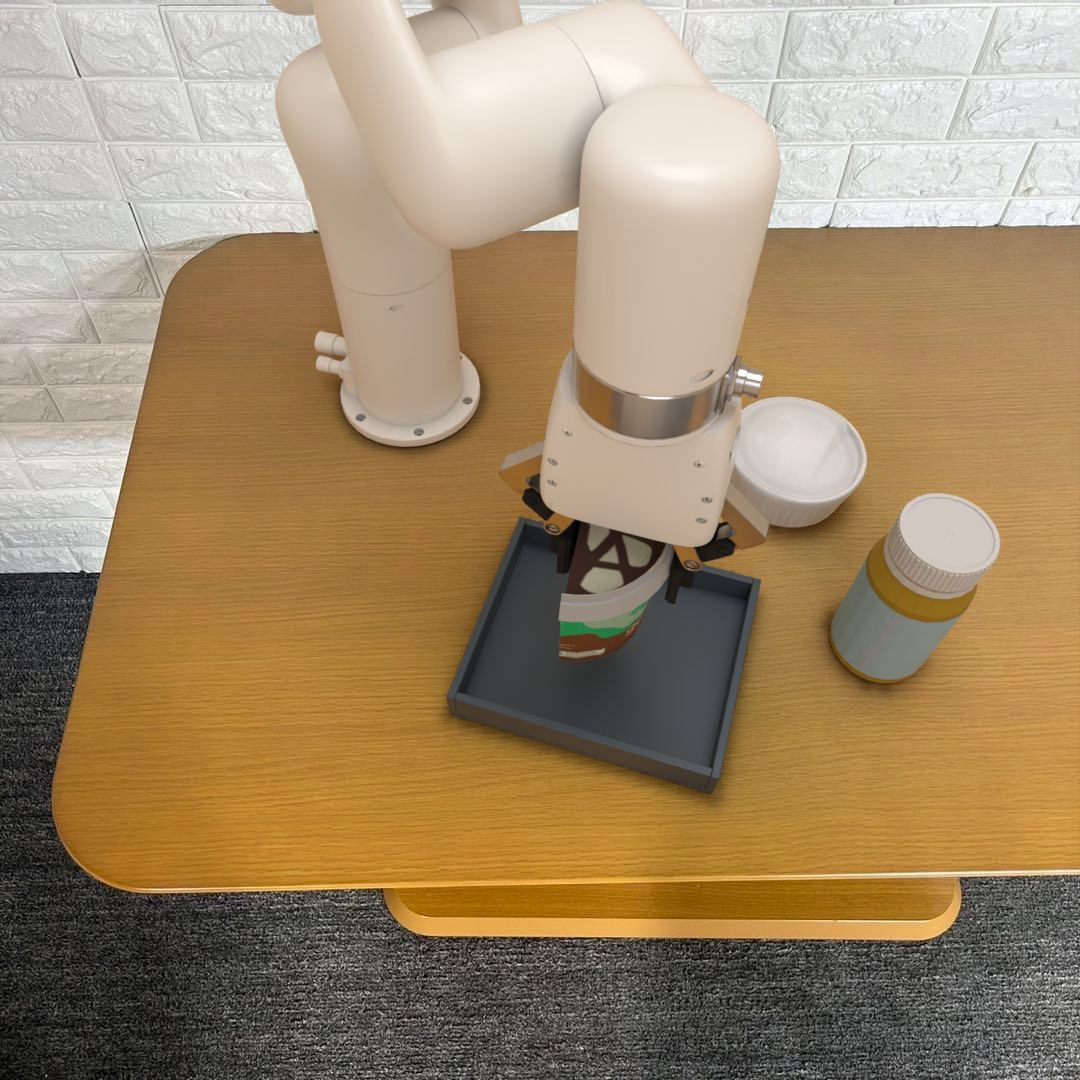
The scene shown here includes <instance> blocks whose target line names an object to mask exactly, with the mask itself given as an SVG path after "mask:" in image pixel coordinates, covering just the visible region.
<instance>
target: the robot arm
mask: <svg viewBox="0 0 1080 1080" xmlns="http://www.w3.org/2000/svg"><path fill="white" fill-rule="evenodd" d="M267 1H268V2H269V4H270V5H271V6H272V7H273V8H275V9H276V10H278V11H280V12H281V13H284V14H287V15H290V16H297V17H298V16H301V17H302V16H303V17H304V16H305V17H308V16H314V19H315V22H316V26H317V31H318V34H319V38H320V41H321V42H320V43H318V44H316V45H314V46H312V47H310V48H308V49H306V50H303V52H301V53H300V54H298V55H297V56H296V57H294V58H293V59H292V60H291V61H290V62H289V63H288V64H287V65H286V66H285V67H284V68H283V70H282V72H281V74H280V75H279V77H278V80H277V81H276V87H275V93H274V103H275V111H276V115H277V120H278V125H279V127H280V130H281V133H282V136H283V138H284V139H283V140H284V141H285V143H286V146H287V148H288V150H289V154H290V156H291V158H292V160H293V163H294V164H295V168H296V170H297V172H298V175H299V177H300V180H301V181H302V185H303V187H304V189H305V191H306V194H307V198H308V200H309V203H310V207H311V209H312V212H313V215H314V219H315V221H316V222H315V223H316V226H317V229H318V233H319V237H320V241H321V244H322V249H323V253H324V257H325V261H326V265H327V268H328V274H329V277H330V282H331V287H332V291H333V295H334V300H335V304H336V309H337V312H338V317H339V320H340V321H339V322H340V325H341V330H342V334H343V336H341V335H340V334H336V333H332V332H327V331H324V330H320V331H318V332H317V333H316V335H315V337H314V343H313V345H314V349H315V351H316V352H319V353H323V354H327V355H330V356H334V357H336V356H339V357H342V358H344V359H342V360H338V359H335V358H333V357H329V356H325V355H319V356H318V357H317V358H316V361H315V369H316V370H317V371H319V372H323V373H327V374H334V375H338V376H339V378H340V379H341V380H342V382H341V383H340V391H339V395H340V403H341V406H342V411H343V413H344V416H345V417H346V419H347V421H348V423H349V424H350V425H351V426H352V427H353V428H354V429H355V431H357V432H358V433H360V434H361V435H363V436H364V437H365V438H367V439H370V440H371V441H375V442H376V443H379V444H383V445H387V446H392V447H400V448H401V447H403V448H404V447H405V448H406V447H408V448H409V447H419V446H425V445H430V444H434V443H436V442H439V441H442V440H445V439H446V438H448V437H450V436H452V435H454V434H456V433H457V432H458V431H460V429H462V428H463V427H464V426H466V425H467V423H469V421H470V420H471V419H472V418H473V416H474V414H475V412H476V411H477V409H478V407H479V404H480V399H481V383H480V376H479V374H478V371H477V368H476V366H475V365H474V363H473V362H472V361H471V359H470V358H469V357H467V356H466V355H465V354H464V353H463V352H462V351H461V350H460V349H461V348H460V339H459V338H460V337H459V327H458V326H459V325H458V316H457V306H456V305H457V304H456V296H455V295H456V294H455V284H454V272H453V271H454V270H453V262H452V251H451V250H467V249H473V248H477V247H480V246H483V245H487V244H489V243H492V242H494V241H497V240H500V239H503V238H505V237H509V236H510V235H513V234H516V233H518V232H521V231H523V230H526V229H529V228H531V227H534V226H536V225H538V224H540V223H543V222H546V221H548V220H550V219H553V218H555V217H558V216H560V215H563V214H565V213H567V212H570V211H573V210H575V209H578V221H577V240H576V241H577V243H576V262H575V263H576V264H575V284H574V285H575V286H574V307H573V309H574V310H573V329H572V348H571V349H570V350H569V351H568V352H567V353H566V354H565V357H564V359H563V362H562V365H561V368H560V370H559V374H558V377H557V380H556V385H555V388H554V392H553V396H552V398H551V404H550V408H549V413H548V418H547V422H546V423H547V424H546V429H545V436H544V440H541V441H538V442H536V443H534V444H532V445H529V446H526V447H524V448H522V449H518V450H516V451H514V452H512V453H509V454H507V455H506V456H504V459H503V461H502V464H501V466H500V468H499V470H498V476H499V478H501V480H502V481H504V483H506V484H507V485H508V486H509V487H510V488H511V489H513V490H514V491H515V492H516V493H517V494H520V495H522V497H521V500H522V502H523V503H524V505H526V506H527V507H528V508H529V509H530V510H532V511H533V512H534V513H535V514H536V515H537V516H538V517H540V518H541V519H542V520H543V521H544V525H543V528H544V530H545V531H546V532H548V533H549V534H550V552H553V553H557V573H560V574H563V575H565V573H568V572H569V570H570V567H571V564H572V560H573V555H574V551H575V547H576V542H577V538H578V537H577V536H578V533H579V528H580V523H581V521H583V522H587V523H590V524H594V525H598V526H602V527H606V528H609V529H613V530H617V531H621V532H625V533H629V534H633V535H636V536H640V537H644V538H648V539H652V540H657V541H661V542H665V543H669V544H672V545H673V547H674V549H675V551H676V554H675V557H674V561H673V565H672V568H671V572H670V577H669V581H668V585H667V590H666V594H665V600H667V603H671V604H675V602H676V598H677V594H678V591H679V587H680V586H681V587H685V588H689V589H691V586H692V582H693V579H694V575H695V571H699V570H701V569H702V565H703V564H704V563H707V562H711V561H715V560H719V559H724V558H728V557H731V556H732V555H734V553H735V551H736V550H741V551H743V550H747V549H750V548H754V547H757V546H761V545H763V544H765V543H766V542H767V540H768V536H769V532H770V531H769V530H770V525H771V524H770V522H769V520H768V519H767V518H766V517H765V516H764V515H763V514H762V513H761V512H760V511H759V510H758V509H757V508H756V507H755V506H754V505H753V504H752V503H751V502H750V501H749V500H748V499H747V498H746V497H745V496H744V495H743V494H742V493H741V492H740V491H739V490H738V489H737V488H736V487H735V486H734V485H733V484H732V483H731V482H730V481H731V476H732V472H733V467H734V462H735V458H736V453H737V447H738V442H739V436H740V428H741V413H742V410H743V408H742V407H743V403H742V401H743V400H742V396H743V397H749V398H752V399H758V397H759V392H760V389H761V386H762V381H763V378H764V374H765V370H764V369H760V368H756V367H750V363H745V362H742V359H743V355H740V354H737V352H738V348H739V344H740V340H741V335H742V332H743V327H744V324H745V320H746V316H747V313H748V308H749V305H750V300H751V294H752V293H753V292H752V291H753V289H754V288H753V287H754V283H755V279H756V276H757V271H758V267H759V264H760V259H761V255H762V251H763V248H764V243H765V241H766V240H765V239H766V236H767V232H768V228H769V224H770V221H771V217H772V213H773V208H774V204H775V200H776V195H777V191H778V186H779V181H780V175H781V155H780V147H779V143H778V140H777V137H776V135H775V133H774V131H773V129H772V128H771V126H770V125H769V123H768V122H767V120H766V119H765V118H764V117H763V116H762V115H761V114H760V113H759V112H758V111H756V110H755V109H754V108H753V107H752V106H751V105H749V104H747V103H745V102H744V101H743V100H741V99H739V98H737V97H735V96H733V95H730V94H728V93H726V92H723V91H720V90H717V89H716V87H715V86H714V85H713V84H712V83H711V81H710V79H708V77H707V76H706V74H705V73H704V71H703V70H702V69H701V68H700V66H699V65H698V63H697V61H696V60H695V58H694V57H693V56H692V54H691V53H690V52H689V50H688V48H687V47H686V46H685V44H684V42H683V41H682V40H681V39H680V37H679V36H678V34H677V33H676V32H675V29H673V28H672V26H670V24H669V23H668V22H667V21H666V20H665V18H663V17H662V16H661V15H660V14H659V13H658V12H657V11H655V9H653V8H651V7H649V6H648V5H646V4H644V3H641V2H638V1H635V0H607V1H603V2H598V3H595V4H591V5H589V6H585V7H582V8H578V9H575V10H572V11H568V12H566V13H563V14H558V15H557V16H553V17H550V18H547V19H544V20H539V21H534V22H530V23H527V24H524V21H523V16H522V12H521V6H520V1H519V0H429V2H430V5H431V8H432V9H431V10H427V11H424V12H421V13H418V14H414V15H411V16H408V17H407V15H406V12H405V10H404V8H403V5H402V3H401V1H400V0H267ZM721 518H722V519H723V520H724V521H721V522H720V520H721Z"/></svg>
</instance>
